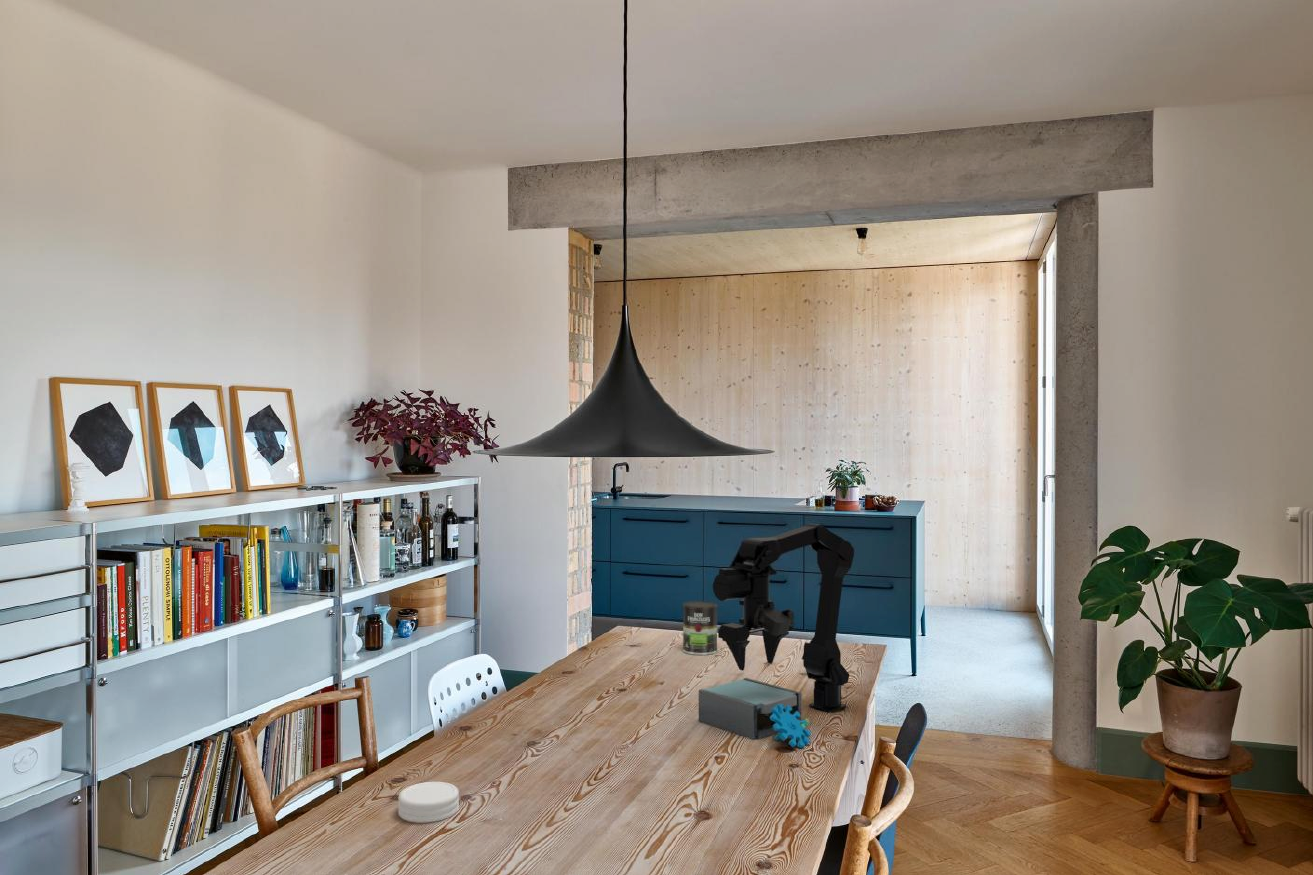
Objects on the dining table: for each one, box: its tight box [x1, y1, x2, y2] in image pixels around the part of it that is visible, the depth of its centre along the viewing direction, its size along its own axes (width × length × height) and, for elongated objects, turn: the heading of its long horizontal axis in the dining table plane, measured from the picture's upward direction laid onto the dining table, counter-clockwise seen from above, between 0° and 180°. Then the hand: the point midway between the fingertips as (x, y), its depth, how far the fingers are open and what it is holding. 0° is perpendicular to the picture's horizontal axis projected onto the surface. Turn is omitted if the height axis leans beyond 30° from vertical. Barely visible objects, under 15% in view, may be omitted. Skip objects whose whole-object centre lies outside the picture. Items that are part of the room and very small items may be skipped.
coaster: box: [397, 781, 460, 824], centre depth 155 cm, size 10×10×4 cm
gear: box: [769, 704, 811, 749], centre depth 191 cm, size 11×6×10 cm
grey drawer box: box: [698, 677, 802, 741], centre depth 203 cm, size 16×17×7 cm
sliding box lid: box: [703, 678, 797, 715], centre depth 203 cm, size 13×18×2 cm
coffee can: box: [682, 600, 719, 656], centre depth 271 cm, size 10×10×14 cm
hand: (756, 666), depth 202 cm, fingers open, 9 cm apart
